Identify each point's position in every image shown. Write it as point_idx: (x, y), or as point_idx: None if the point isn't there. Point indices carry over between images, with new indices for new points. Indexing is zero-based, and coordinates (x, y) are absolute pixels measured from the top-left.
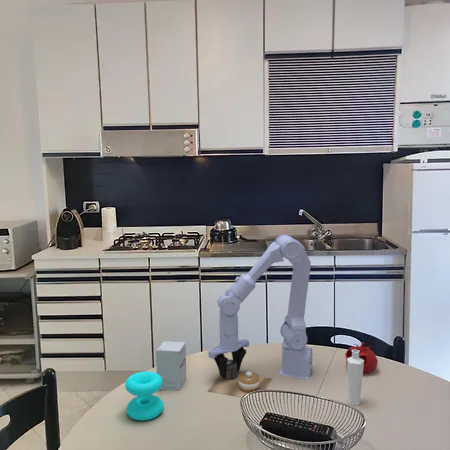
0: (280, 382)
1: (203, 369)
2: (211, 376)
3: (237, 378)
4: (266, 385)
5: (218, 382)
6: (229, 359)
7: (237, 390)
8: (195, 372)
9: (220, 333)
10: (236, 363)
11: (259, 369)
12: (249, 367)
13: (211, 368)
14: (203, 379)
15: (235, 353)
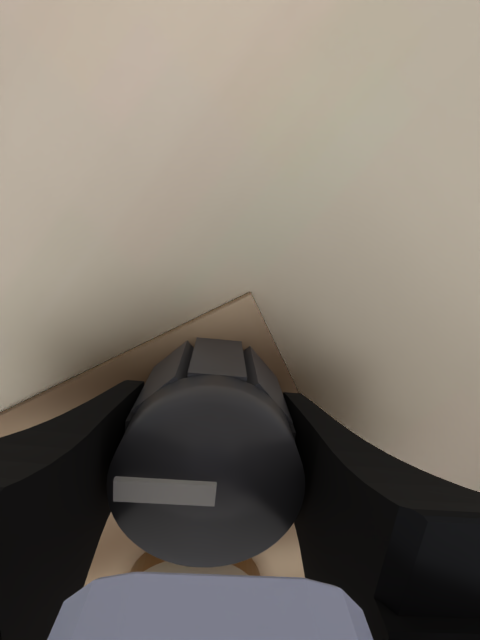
0: None
1: (143, 86)
2: (114, 267)
3: None
4: None
5: None
6: (275, 429)
7: (111, 568)
8: (35, 74)
9: None
10: (254, 551)
11: (468, 443)
12: (453, 372)
13: (220, 135)
14: (22, 259)
15: (343, 589)
